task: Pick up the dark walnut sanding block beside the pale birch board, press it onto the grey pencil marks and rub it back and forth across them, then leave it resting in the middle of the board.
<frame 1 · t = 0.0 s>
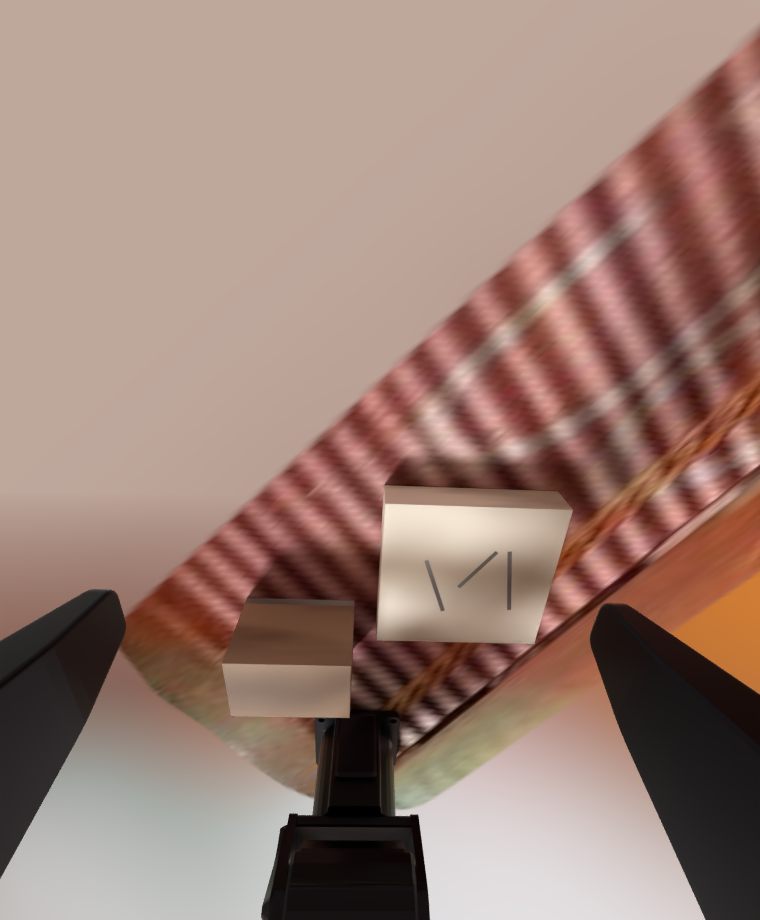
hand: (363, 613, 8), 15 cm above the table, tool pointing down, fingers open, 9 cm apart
sanding block: (302, 622, 28), on the table
birch board: (460, 558, 26), on the table
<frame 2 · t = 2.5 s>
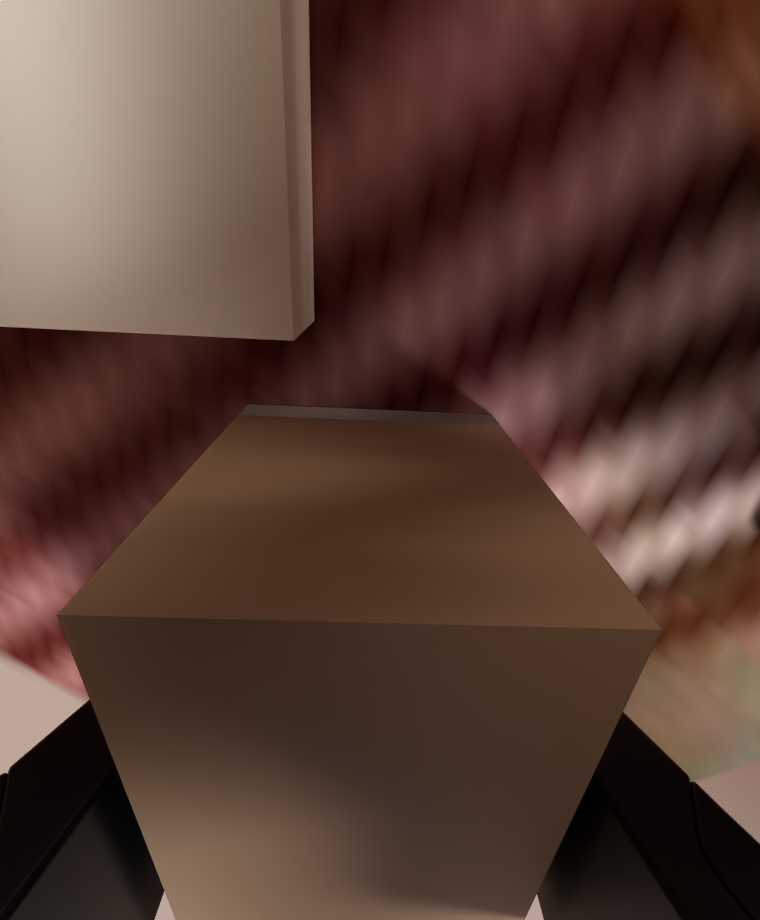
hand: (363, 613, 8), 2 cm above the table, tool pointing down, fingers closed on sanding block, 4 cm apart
sanding block: (364, 560, 9), on the table, touching gripper
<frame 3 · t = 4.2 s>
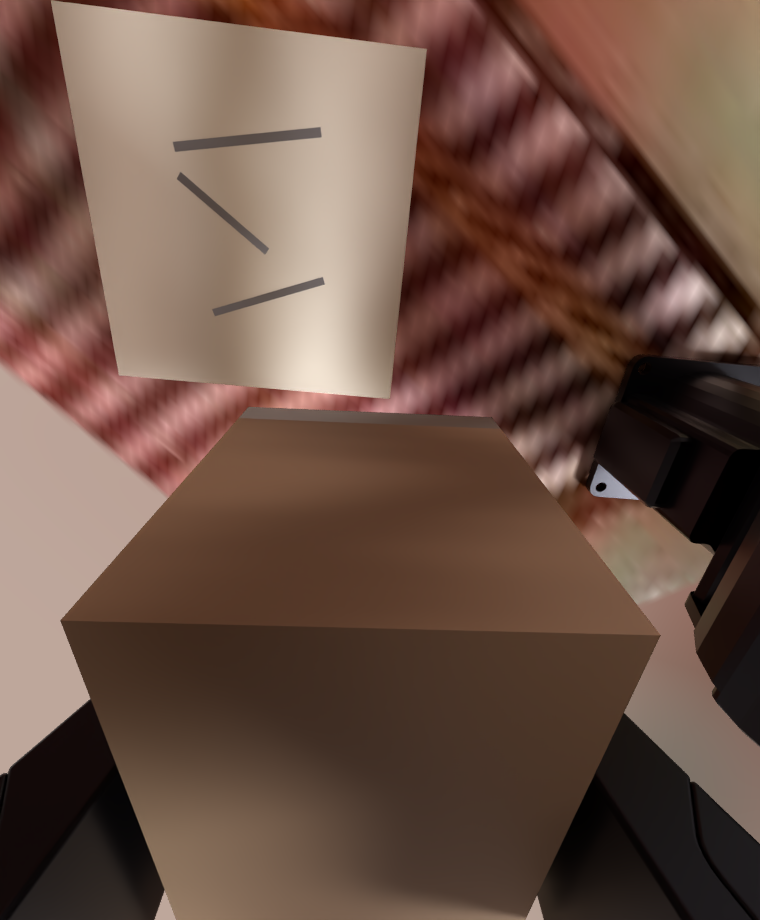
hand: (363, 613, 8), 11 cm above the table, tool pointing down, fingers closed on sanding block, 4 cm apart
sanding block: (365, 562, 9), point 10 cm above the table, touching gripper
birch board: (265, 239, 15), on the table
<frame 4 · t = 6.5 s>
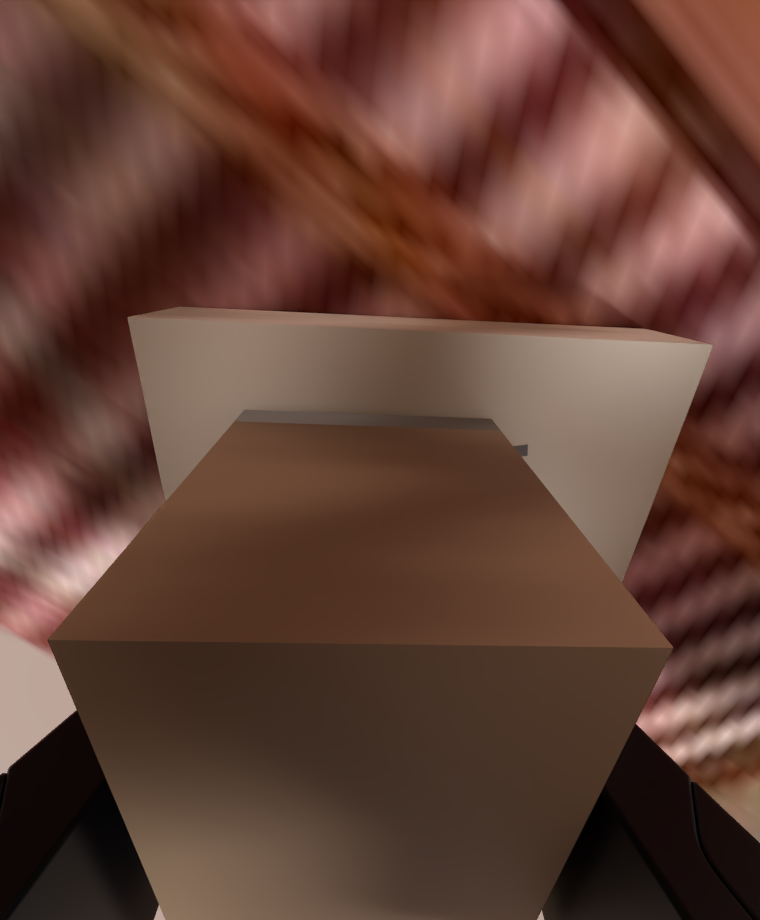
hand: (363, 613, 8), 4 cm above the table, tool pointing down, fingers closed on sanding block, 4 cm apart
sanding block: (363, 566, 9), point 2 cm above the table, touching gripper
birch board: (400, 515, 11), on the table
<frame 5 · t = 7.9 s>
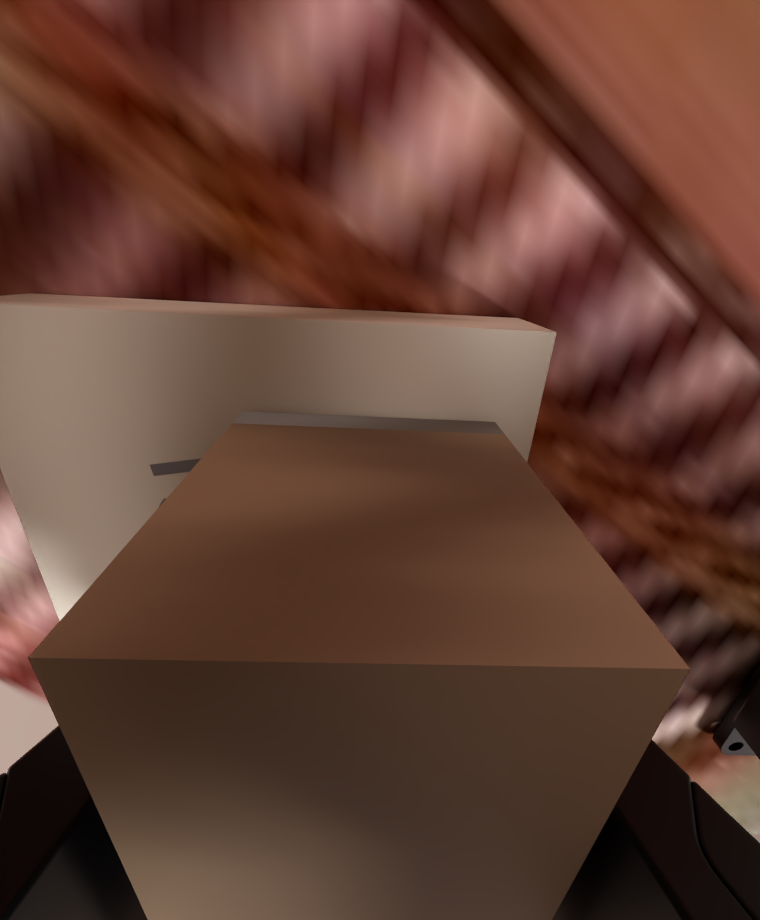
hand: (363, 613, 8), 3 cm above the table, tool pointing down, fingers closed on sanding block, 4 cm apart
sanding block: (363, 571, 9), point 2 cm above the table, touching gripper
birch board: (290, 511, 11), on the table
when the fingers open (4 cm above the table, at t = 9.6 s): sanding block drops 1 cm, resting on birch board.
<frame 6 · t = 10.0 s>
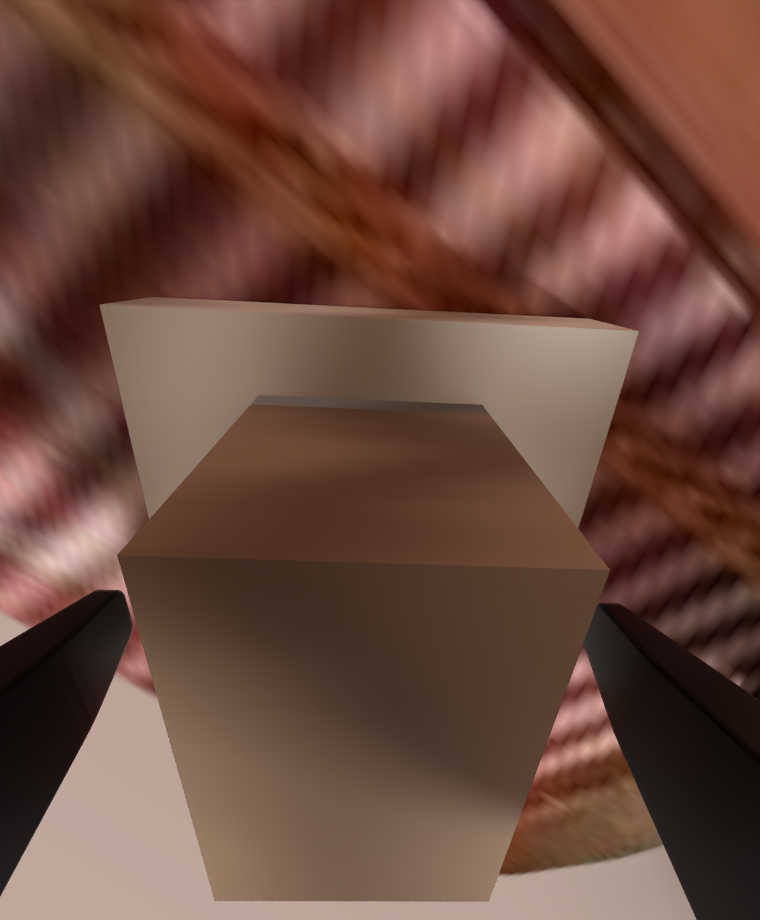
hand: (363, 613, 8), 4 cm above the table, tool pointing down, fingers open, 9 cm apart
sanding block: (365, 541, 10), point 2 cm above the table, touching birch board
birch board: (367, 496, 12), on the table
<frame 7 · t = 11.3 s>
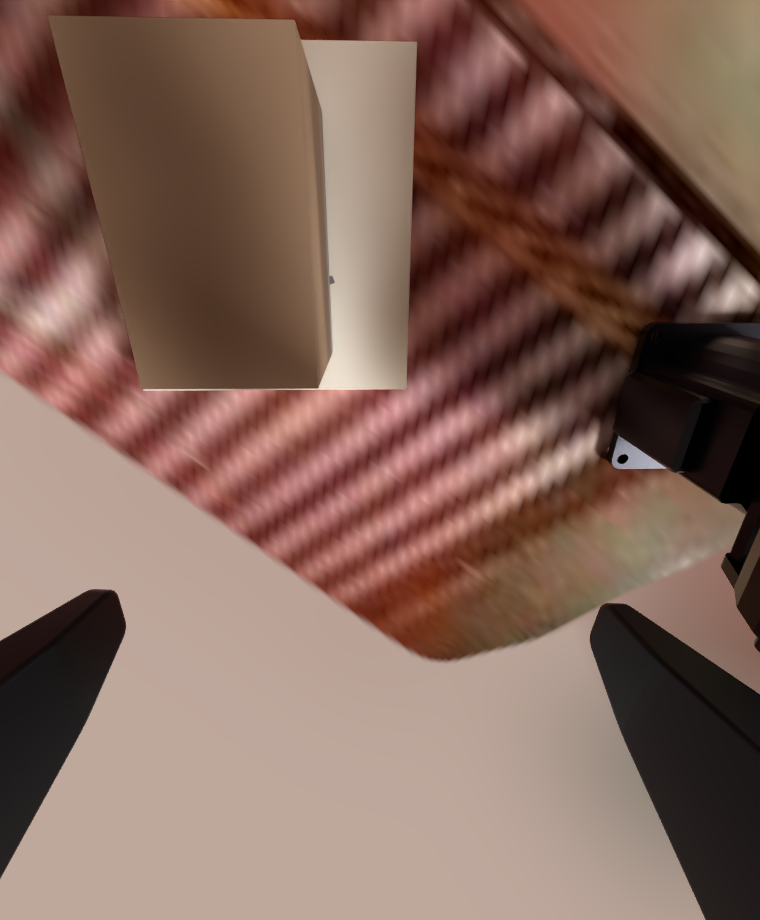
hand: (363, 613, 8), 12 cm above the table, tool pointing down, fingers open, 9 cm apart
sanding block: (259, 244, 14), point 2 cm above the table, touching birch board
birch board: (272, 244, 15), on the table
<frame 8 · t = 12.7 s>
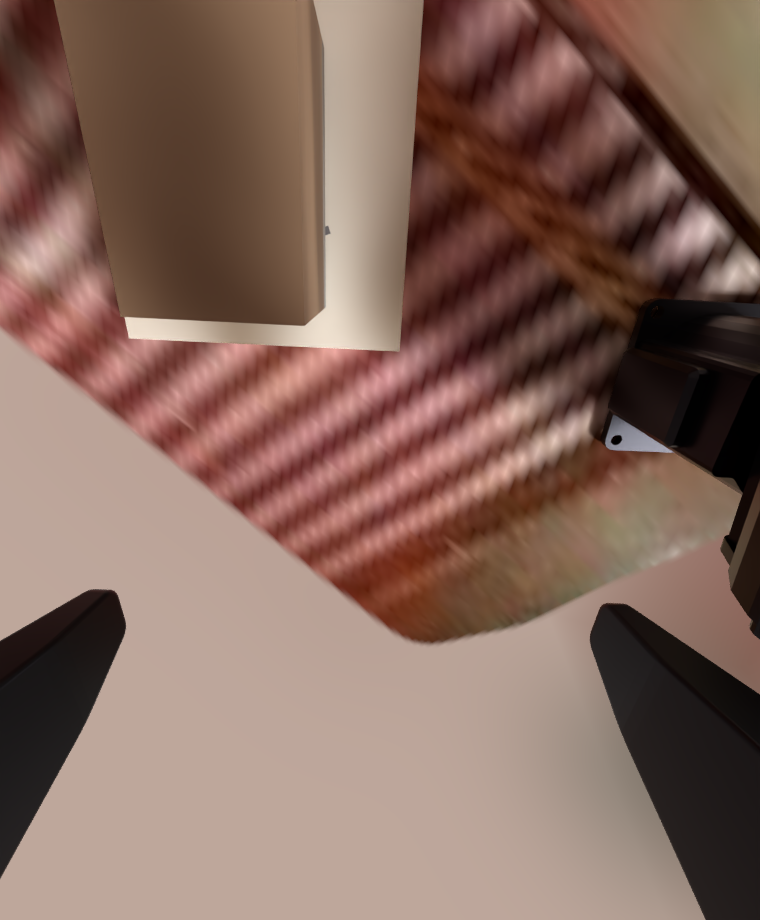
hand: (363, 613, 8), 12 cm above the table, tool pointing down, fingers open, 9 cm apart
sanding block: (254, 188, 13), point 2 cm above the table, touching birch board
birch board: (269, 195, 15), on the table
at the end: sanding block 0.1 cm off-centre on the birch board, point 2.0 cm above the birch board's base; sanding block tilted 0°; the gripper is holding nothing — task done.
